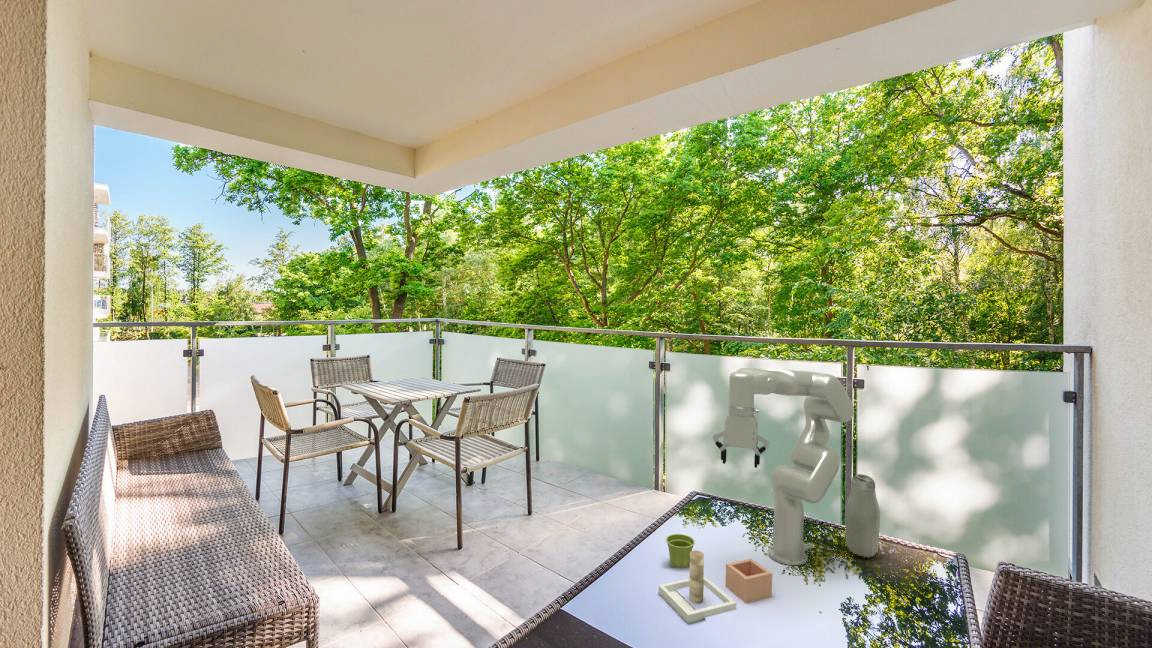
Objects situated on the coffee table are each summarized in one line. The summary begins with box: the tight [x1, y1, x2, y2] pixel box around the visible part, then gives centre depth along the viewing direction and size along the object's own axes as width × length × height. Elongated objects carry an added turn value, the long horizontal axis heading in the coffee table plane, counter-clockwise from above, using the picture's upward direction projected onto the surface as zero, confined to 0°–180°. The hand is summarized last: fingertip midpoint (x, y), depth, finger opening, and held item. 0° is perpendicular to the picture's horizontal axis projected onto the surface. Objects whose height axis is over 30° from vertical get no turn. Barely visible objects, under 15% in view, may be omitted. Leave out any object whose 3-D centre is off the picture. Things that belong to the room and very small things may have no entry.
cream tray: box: [658, 575, 737, 625], centre depth 156 cm, size 16×16×3 cm
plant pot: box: [665, 533, 696, 569], centre depth 177 cm, size 9×9×9 cm
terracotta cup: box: [725, 558, 773, 604], centre depth 160 cm, size 9×9×8 cm
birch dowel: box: [688, 549, 705, 604], centre depth 156 cm, size 4×4×14 cm
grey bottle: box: [845, 473, 881, 558], centre depth 184 cm, size 10×10×28 cm
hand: (740, 464), depth 169 cm, fingers open, 9 cm apart
